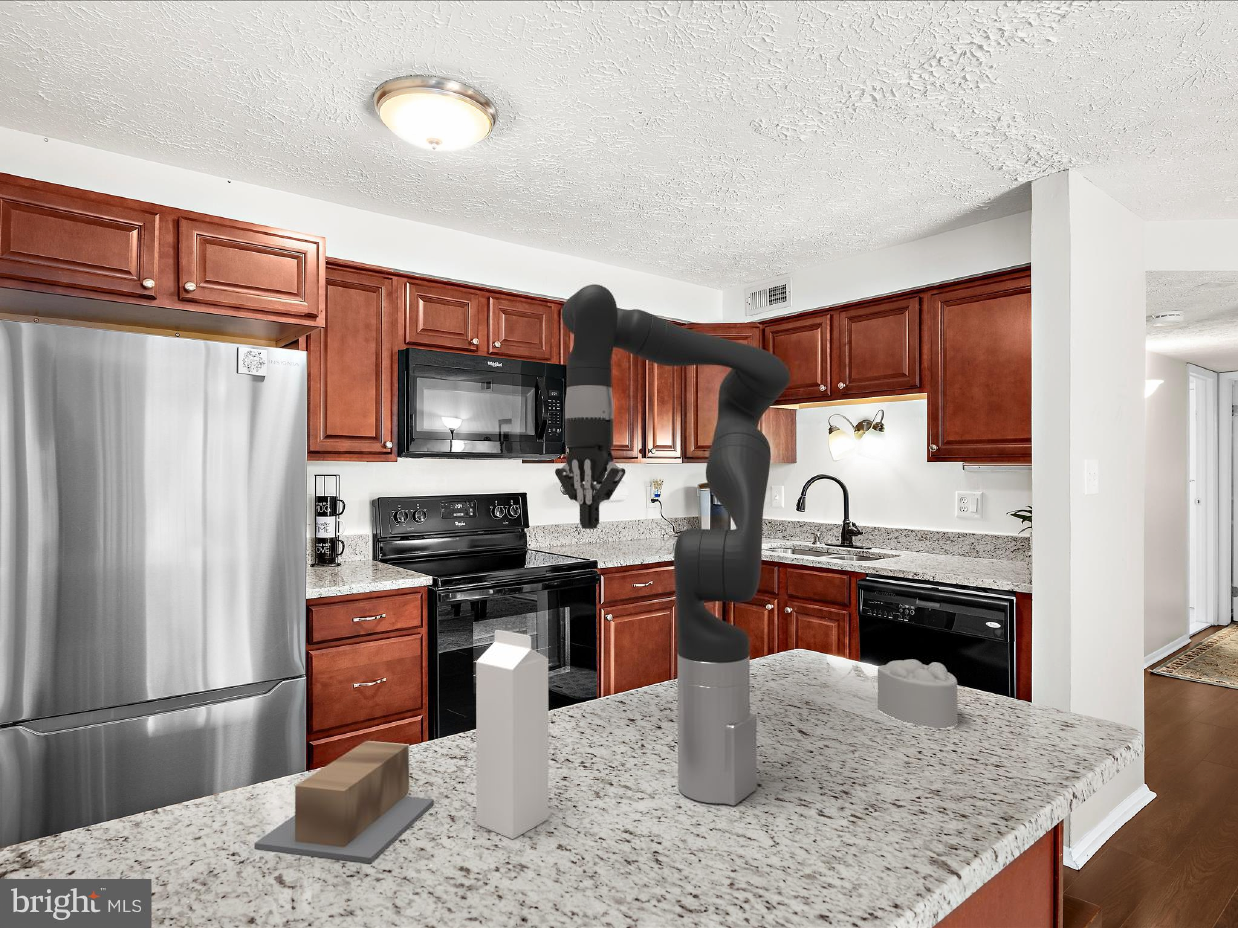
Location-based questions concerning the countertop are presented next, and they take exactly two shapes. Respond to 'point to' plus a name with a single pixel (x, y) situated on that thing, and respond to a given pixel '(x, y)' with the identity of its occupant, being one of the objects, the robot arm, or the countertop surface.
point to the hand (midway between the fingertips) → (589, 528)
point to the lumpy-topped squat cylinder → (918, 693)
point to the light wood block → (351, 793)
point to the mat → (363, 845)
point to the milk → (511, 736)
